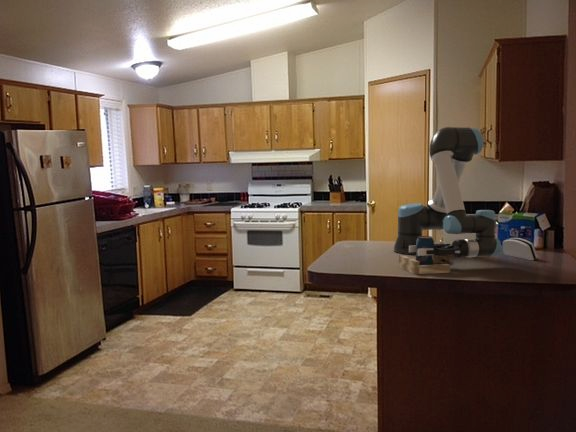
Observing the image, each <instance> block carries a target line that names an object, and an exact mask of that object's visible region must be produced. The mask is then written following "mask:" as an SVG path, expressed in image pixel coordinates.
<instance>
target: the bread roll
mask: <svg viewBox="0 0 576 432" xmlns="http://www.w3.org/2000/svg"><path fill="white" fill-rule="evenodd" d="M434 259H435V264H448V263H449V260H450V255H447V256H438V255H434Z"/></svg>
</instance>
